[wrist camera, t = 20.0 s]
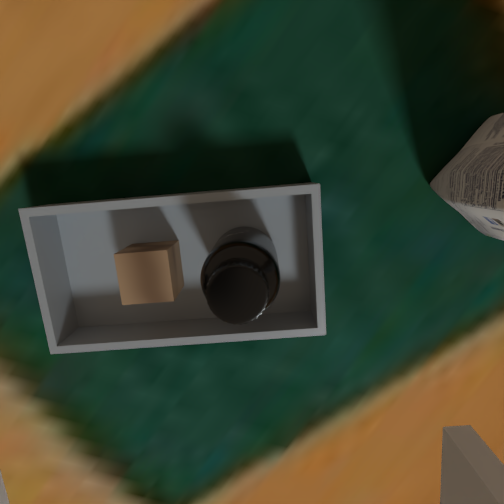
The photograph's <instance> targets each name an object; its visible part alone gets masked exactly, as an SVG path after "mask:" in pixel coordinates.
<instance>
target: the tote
mask: <svg viewBox="0 0 504 504" xmlns="http://www.w3.org/2000/svg"><path fill="white" fill-rule="evenodd" d="M18 210H19V214H20V219H21V223H22V228H23V232H24V237H25V241H26V246H27V250H28V255H29V259H30V264H31V268H32V273H33V277H34V282H35V286H36V291H37V295H38V300H39V304H40V309H41V313H42V318H43V322H44V327H45V331H46V336H47V340H48V345H49V349H50V354H61V353H75V352H89V351H104V350H118V349H132V348H147V347H161V346H175V345H190V344H204V343H218V342H233V341H247V340H261V339H276V338H290V337H304V336H319V335H326V317H325V293H324V269H323V244H322V220H321V196H320V184H318V183H312V182H311V183H299V184H287V185H275V186H263V187H251V188H239V189H227V190H215V191H203V192H191V193H179V194H167V195H155V196H143V197H131V198H119V199H107V200H95V201H83V202H71V203H59V204H48V205H41V206H35V207H28V208H21V209H18ZM243 226H246V227H253V228H256V229H258V230H260V231H262V232H264V233H265V234H266V235H267V236H268V237H269V238H270V239H271V241H272V242H273V244H274V246H275V249H276V252H277V257H278V263H279V270H280V288H279V292H278V294H277V296H276V298H275V300H274V301H273V303H272V304H271V305H270V306H269V307H268V308H267V309H266V310H264V311H263V313H262V314H261V315H260V316H259V317H258V318H257V319H254V320H253V321H252V322H248V323H247V324H245V323H243V324H241V325H240V324H235V325H234V324H232V323H227V322H224V321H222V320H221V319H219V318H217V316H216V315H214V314H213V312H212V311H211V310H210V308H209V305H208V304H207V300H206V298H205V296H204V294H203V291H202V288H201V282H200V275H201V270H202V266H203V264H204V261H205V260H206V258H207V256H208V255H209V253H210V251H211V250H212V248H213V247H214V245H215V244H216V242H217V241H218V239H219V238H220V237H221V236H222V235H223V234H224V233H226V232H227V231H229V230H231V229H233V228H236V227H243ZM174 240H179V246H180V254H181V262H182V270H183V278H184V287H183V288H182V290H181V291H180V293H179V294H178V296H177V298H176V299H175V301H172V302H158V303H145V304H131V305H122V301H121V295H120V289H119V283H118V277H117V271H116V266H115V260H114V254H115V253H117V252H118V251H120V250H122V249H124V248H125V247H127V246H129V245H131V244H136V243H148V242H161V241H174Z"/></svg>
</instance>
